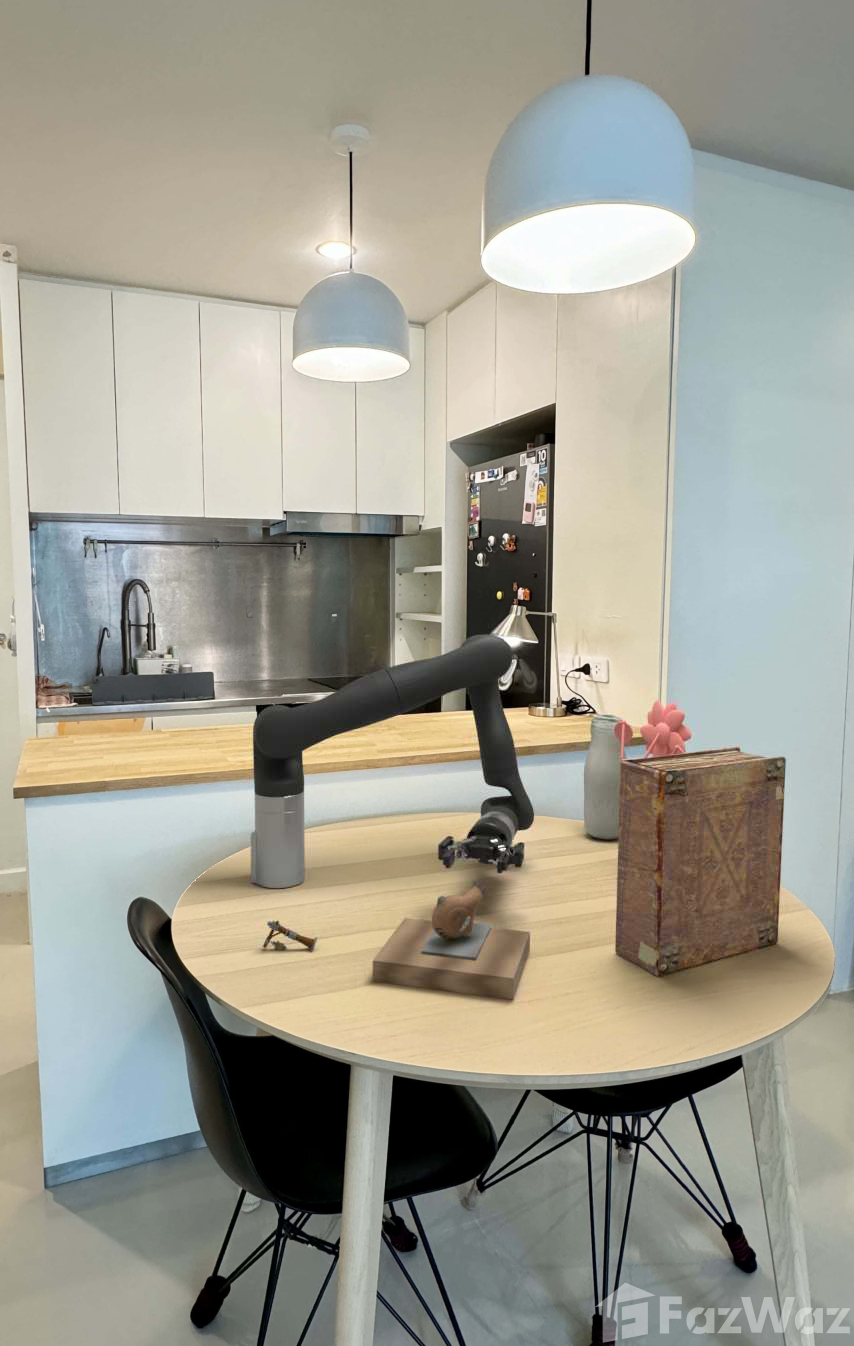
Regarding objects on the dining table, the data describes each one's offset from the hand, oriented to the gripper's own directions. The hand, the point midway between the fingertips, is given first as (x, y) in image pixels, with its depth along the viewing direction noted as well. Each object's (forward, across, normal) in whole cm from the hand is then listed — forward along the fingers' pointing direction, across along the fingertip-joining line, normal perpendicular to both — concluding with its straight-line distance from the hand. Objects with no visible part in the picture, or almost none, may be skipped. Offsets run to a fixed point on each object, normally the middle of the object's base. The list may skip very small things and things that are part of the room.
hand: (473, 864), depth 133 cm
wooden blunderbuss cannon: (+15, -25, +11) cm, 31 cm away
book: (-3, +35, +11) cm, 37 cm away
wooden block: (+13, 0, +11) cm, 17 cm away
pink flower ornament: (-32, +30, +11) cm, 45 cm away
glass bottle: (-59, +18, +11) cm, 63 cm away
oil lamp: (+11, 0, +8) cm, 13 cm away
